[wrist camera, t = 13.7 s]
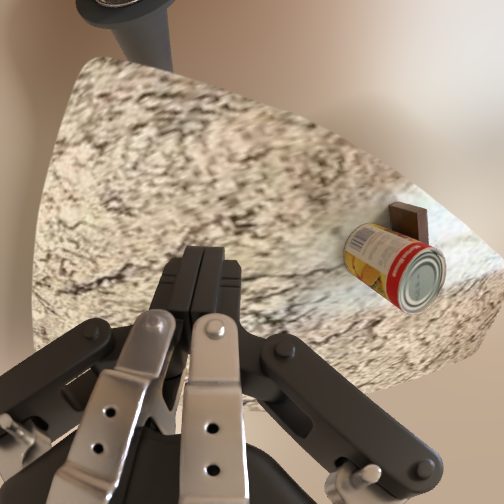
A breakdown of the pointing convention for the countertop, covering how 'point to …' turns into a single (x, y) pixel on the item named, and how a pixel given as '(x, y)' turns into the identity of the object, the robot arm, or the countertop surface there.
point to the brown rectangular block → (409, 221)
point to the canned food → (396, 266)
